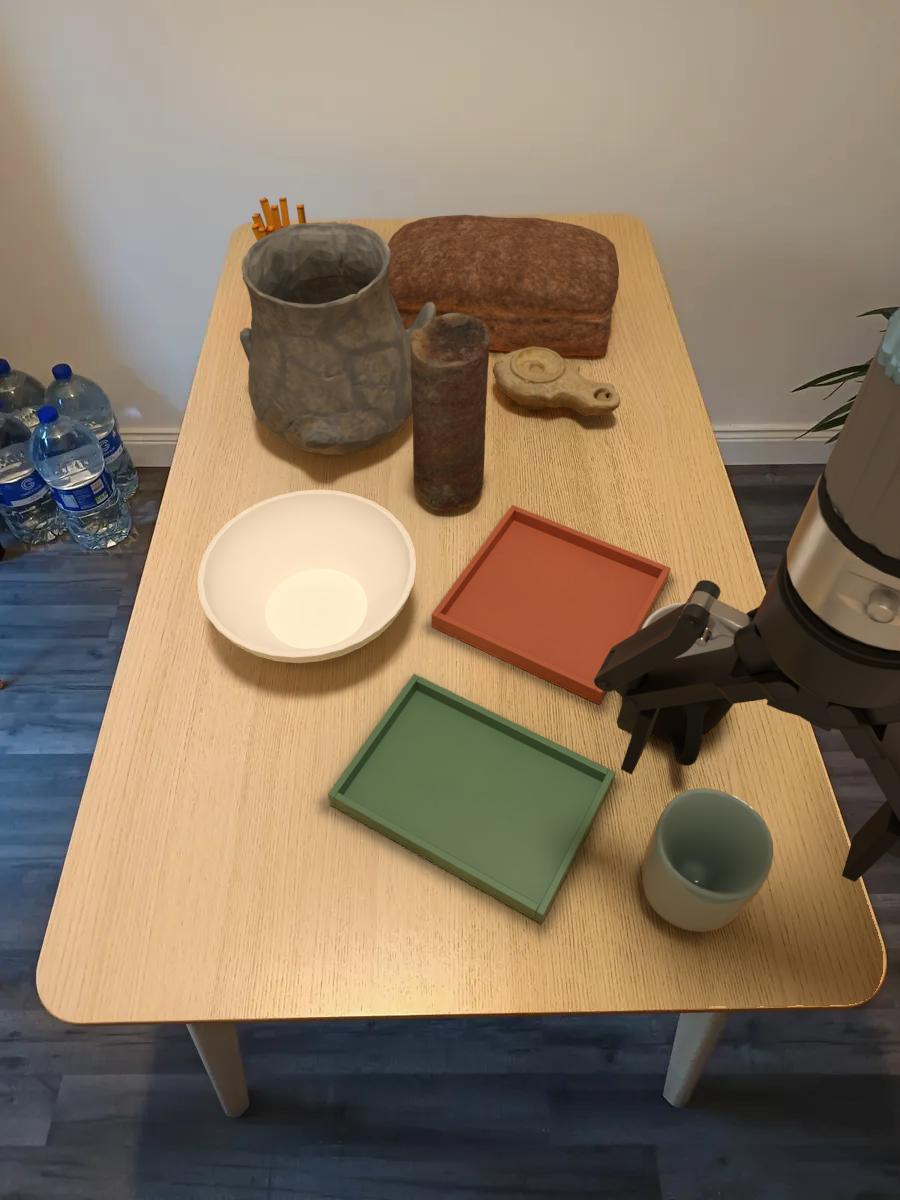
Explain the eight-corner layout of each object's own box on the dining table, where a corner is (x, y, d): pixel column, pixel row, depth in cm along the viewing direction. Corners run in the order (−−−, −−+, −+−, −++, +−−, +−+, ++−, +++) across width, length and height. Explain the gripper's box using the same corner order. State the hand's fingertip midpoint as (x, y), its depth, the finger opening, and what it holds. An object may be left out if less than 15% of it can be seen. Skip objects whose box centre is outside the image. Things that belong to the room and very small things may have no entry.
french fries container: (268, 340, 109) (246, 235, 98) (275, 299, 115) (255, 195, 104) (324, 339, 109) (308, 234, 98) (328, 297, 115) (314, 194, 104)
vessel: (223, 484, 93) (174, 324, 77) (266, 358, 107) (232, 200, 91) (422, 494, 92) (414, 333, 76) (440, 365, 105) (437, 206, 90)
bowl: (232, 536, 89) (217, 489, 83) (422, 536, 88) (419, 488, 83) (197, 700, 77) (177, 657, 71) (416, 700, 76) (412, 656, 71)
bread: (397, 272, 118) (391, 190, 109) (612, 286, 115) (625, 203, 106) (373, 347, 108) (365, 263, 99) (609, 365, 105) (623, 280, 96)
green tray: (612, 783, 71) (615, 772, 70) (541, 924, 64) (543, 915, 63) (414, 685, 77) (413, 673, 76) (330, 804, 70) (327, 794, 69)
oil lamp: (617, 433, 98) (623, 398, 94) (490, 430, 98) (492, 395, 94) (610, 374, 104) (616, 339, 100) (492, 372, 105) (493, 337, 101)
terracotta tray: (667, 580, 84) (671, 567, 83) (599, 705, 76) (602, 693, 74) (511, 517, 90) (512, 504, 88) (431, 627, 81) (431, 614, 80)
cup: (747, 867, 67) (786, 813, 59) (723, 962, 62) (760, 918, 54) (650, 827, 69) (674, 770, 61) (620, 917, 64) (642, 868, 57)
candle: (497, 502, 91) (505, 341, 75) (438, 529, 89) (433, 369, 73) (459, 460, 95) (459, 299, 79) (401, 485, 93) (389, 324, 77)
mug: (620, 664, 78) (638, 596, 70) (720, 673, 78) (750, 605, 70) (620, 785, 71) (640, 724, 63) (731, 796, 70) (765, 736, 62)
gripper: (559, 533, 37) (526, 761, 54) (1224, 800, 29) (944, 969, 46) (626, 430, 41) (576, 673, 58) (1227, 642, 33) (968, 851, 50)
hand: (739, 805), depth 52 cm, fingers open, 13 cm apart
